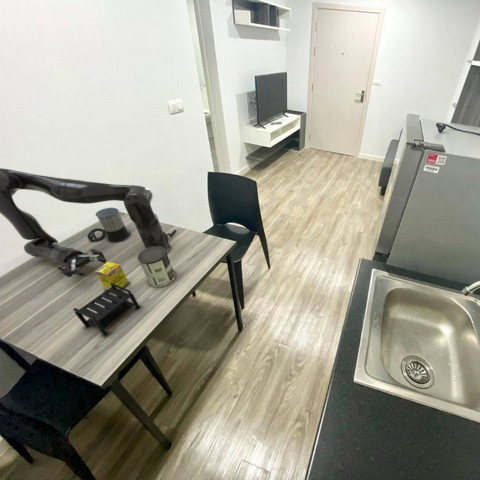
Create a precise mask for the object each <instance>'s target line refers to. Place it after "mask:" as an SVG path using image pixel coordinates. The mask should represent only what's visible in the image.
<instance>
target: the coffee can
mask: <svg viewBox="0 0 480 480" xmlns="http://www.w3.org/2000/svg"><path fill="white" fill-rule="evenodd" d="M136 258H137V260H138V262H139V264H140V266H141V268H142V270H143V272H144V274H145V277H146V278H147V281H148V284H149V285H150V286H151V287H154V288H161V287H165V286H167V285H169V284H171V283H172V282H173V281H174V280H175V278H176V273H175V271H174V269H173V266H172V262H171V260H170V258H169V255H168V252H167V251H166V249H165V248H164V247H161V246H154V247H149V248H147V249H145V248H144V249H143V250H141V251H140V252H139V253H138V255H137V257H136Z"/></svg>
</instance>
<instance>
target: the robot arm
mask: <svg viewBox="0 0 480 480" xmlns="http://www.w3.org/2000/svg"><path fill="white" fill-rule="evenodd" d="M20 190H23V191H24V190H25V191H36V192H40V193H44V194H45V195H47V196H49V197H51V198H54V199H56V200H58V201H59V202H64V203H69V204H70V203H71V204H82V205H88V204H89V205H90V204H97V203H103V202H112V201H118V202H123V205H124V209H125V210H126V212H127V214H128V216H129V219H130V220H131V221H132V222H133V224H134V225H135V228H136V230H137V232H138V234H139V237H140V240H141V242H142V244H143V246H144V247H143V248H144V250H145V249H147V248H149V247H154V246H161V247H164V248H165V249H166V251H167V253H169V251H170V249H171V245H170V242H169V236H170V237H172V236H174V234H175V233H176V229H174V230H173V231H172V232H171V233H170V232H168V233H166V232H165V231H163V228H162V225H161V223H160V220H159V217H158V215H157V213H155V212H154V211H153V208H152V206H151V204H152V201H153V198H154V195H153V193H152V191H151V190H150V189H149V188H147V187H145V186H143V185H137V184H112V183H105V182H97V181H90V180H89V181H87V180H81V179H73V178H64V177H63V178H62V177H56V176H49V175H41V174H35V173H30V172H24V171H19V170H15V169H10V168H9V169H8V168H3V167H2V168H1V167H0V215H2V217H4V218H5V219H6V220H7V221H8V222H9V224H11V226H12V227H13V228H14V229H15V231H16V232H17V233H18V234H19V236H20V237H21V238H22V239H24V240H27V242H26V243H25V244H24V245H23V250H24V252H25V253H26V254H27V255H29V256H31V257H33V258H39V259H50V260H52V261H54V262H55V263H57V264H60V265H62V266H58V267H57V270H58V271H59V272H60V273H61V274H62V275H64V276H66V277H68V278H71V277H73V276H74V275H75V276H78V277H85V276H86V273H85V272H84V271H83V270H80V269H81V268H83V267H84V266H86V265H88V264H91V263H95V262H99V263H102V264H103V265H104V264H105V263H107V260H106V259H107V258H106V257H105V254H104V253H103V251H100V250H97V249H94V248H91V249H90V250H89V252H87V253H86V252H85V253H84V252H83V251H81V250H79V249H76V248H74V247H71V246H69V245H64V244H62V243H60V242H59V241H58V240H57V239H56V237H54V236H52V235H51V234H49V233H48V232H47V231H46V230H45V229H44V228H43V226H42V225H41V223H40V222H39V221H38V219H37V218H36V217H35V215H33V214H31V213H29V212H28V211H25V210H22V209H21V208H19V207H18V205H17V204H16V202H15V200H14V197H13V196H15V194H16V193H17V192H18V191H20ZM69 269H70V270H69Z"/></svg>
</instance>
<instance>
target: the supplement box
mask: <svg viewBox="0 0 480 480" xmlns="http://www.w3.org/2000/svg"><path fill="white" fill-rule="evenodd" d="M94 272H95V274H96V276H97V278H98V279H99V281H100V282H101V284H102V287H104V289H105V291H106V290H108V289H109V288H111V287H112V286H111V285H110V283H113V284H116V285H118V286H120V287H123V288H126V286H128V285H130V282H129V280H128V278H127V276H126V274H125V272H124V271H123V268H122V266H121V264H120V263H116V262H112V261H111V262H110V261H106V263H105V264H104V263H103V265H102V266H100V267H98V268H96V270H94ZM116 288H117V287H116ZM117 289H118V290H121V291H123V290H122V289H119V288H117Z"/></svg>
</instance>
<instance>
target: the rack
mask: <svg viewBox="0 0 480 480" xmlns="http://www.w3.org/2000/svg"><path fill="white" fill-rule="evenodd" d="M110 285H111V286H112V287H111V288H109V289H108V290H106V289H105V291H104V292H102V293H101V294H99V295H98V296H96V297H95V298H93V299H92V300H90V301H89V302H88V303H86V304H85V305H83V306H82V307H81V308H79V309H78V308H76V307H74V308H72V310H73V311H74V315H76V317H77V318H78V319H79V320H80V322H81V323H82V324H83V326H84V327H85V328H89V327H90V326H93V327H95V328H97V329H98V331H99V332H100V333H101V335H102V336H104V337H107V336H108V335H109V334H108V332H107V330H106V329H107V328H109V327H110V326H111V325H112V324H114V323H115V322H117V320H119V319H120V318H122V316H123V315H125V314H126V313H127V312H128V311H130V310H131V309H132V308H133V307H135V309H136V310H139V309H140V308H141V306H140V305H139V303H138V301H137V299H136V297H135V295H134V294H133V293H132V291H131V290H130V289H127V288H126V287H124V288H123V287H120V286H118V285H116V284H113V283H110ZM116 287H117V288H119V289H122V290H118V289H117V288H116ZM129 299H130V300H131V301H129ZM85 317H86V318H87V319H86V318H85Z"/></svg>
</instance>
